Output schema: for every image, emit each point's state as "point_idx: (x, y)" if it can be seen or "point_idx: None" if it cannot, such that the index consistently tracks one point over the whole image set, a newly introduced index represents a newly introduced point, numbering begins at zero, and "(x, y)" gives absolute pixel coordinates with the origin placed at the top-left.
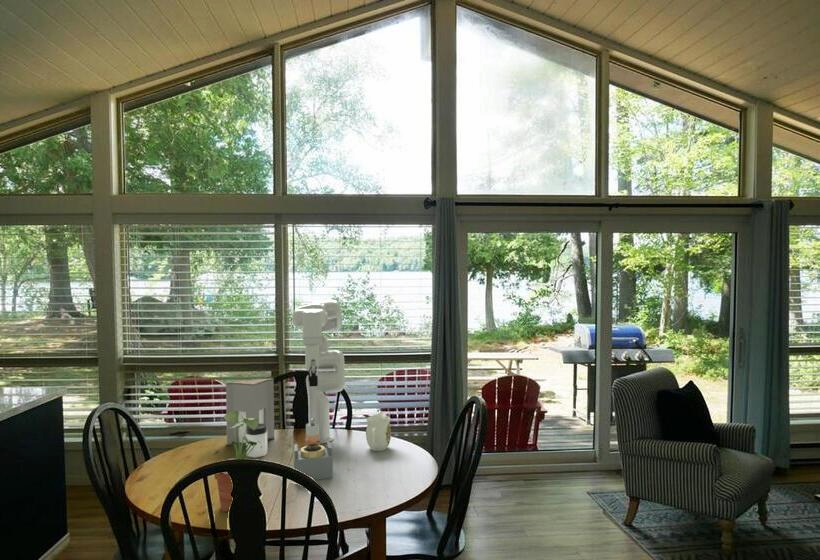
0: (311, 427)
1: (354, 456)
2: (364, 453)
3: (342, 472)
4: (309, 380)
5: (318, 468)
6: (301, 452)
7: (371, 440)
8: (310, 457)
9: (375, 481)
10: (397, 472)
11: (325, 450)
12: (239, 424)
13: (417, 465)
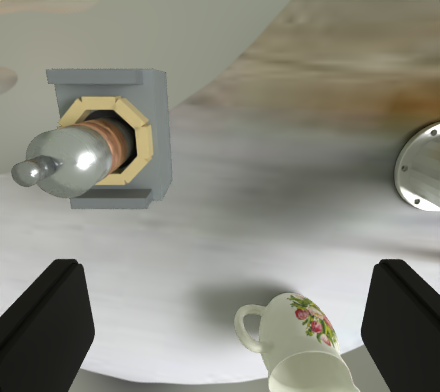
0: (28, 158)
1: (247, 247)
2: (262, 273)
3: None
4: (10, 309)
5: None
6: (79, 98)
7: (237, 315)
8: None
9: None
10: (113, 318)
11: (138, 183)
12: None
13: (148, 359)
